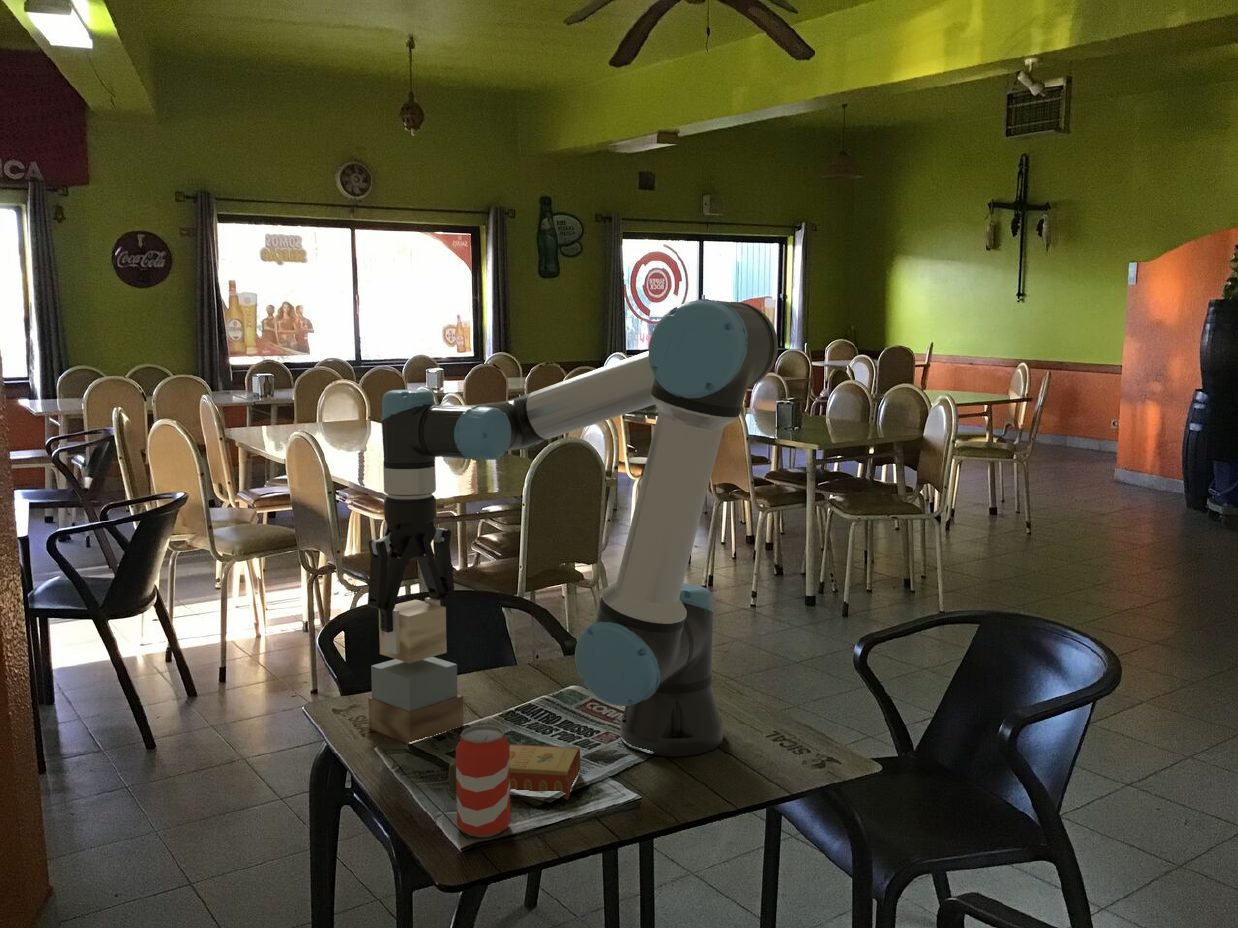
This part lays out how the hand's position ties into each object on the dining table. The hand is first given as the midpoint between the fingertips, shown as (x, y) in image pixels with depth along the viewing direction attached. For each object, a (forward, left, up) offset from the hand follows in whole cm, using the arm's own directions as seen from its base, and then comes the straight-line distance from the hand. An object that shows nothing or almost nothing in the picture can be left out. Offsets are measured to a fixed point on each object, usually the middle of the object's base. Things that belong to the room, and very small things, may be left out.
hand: (413, 646), depth 164 cm
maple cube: (0, 0, -1) cm, 1 cm away
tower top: (0, 0, -8) cm, 8 cm away
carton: (-26, +4, -13) cm, 30 cm away
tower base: (0, 0, -13) cm, 13 cm away
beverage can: (-33, +16, -13) cm, 39 cm away
